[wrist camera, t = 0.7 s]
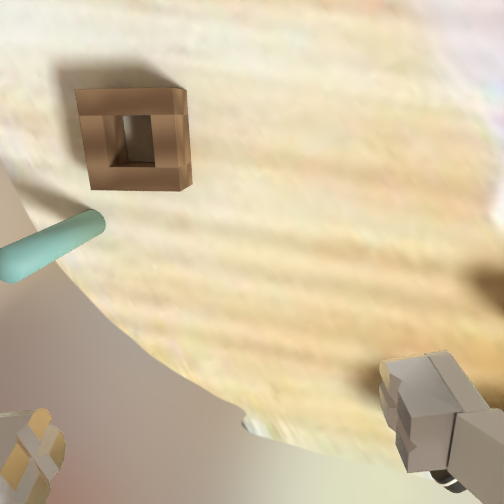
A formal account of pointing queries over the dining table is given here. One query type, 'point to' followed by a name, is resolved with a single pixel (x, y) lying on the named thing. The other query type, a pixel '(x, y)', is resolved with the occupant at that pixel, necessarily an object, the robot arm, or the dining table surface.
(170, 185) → the socket block
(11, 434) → the robot arm
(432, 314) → the dining table surface
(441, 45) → the dining table surface
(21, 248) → the peg
